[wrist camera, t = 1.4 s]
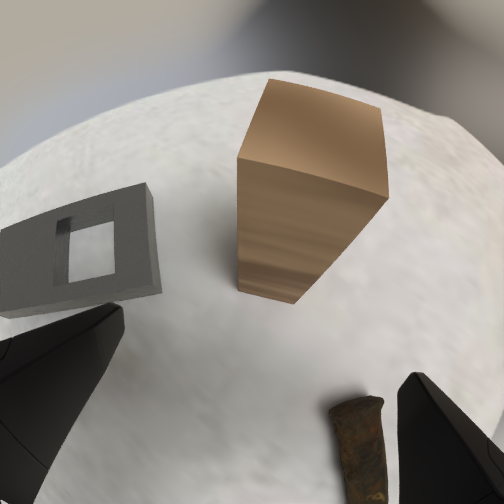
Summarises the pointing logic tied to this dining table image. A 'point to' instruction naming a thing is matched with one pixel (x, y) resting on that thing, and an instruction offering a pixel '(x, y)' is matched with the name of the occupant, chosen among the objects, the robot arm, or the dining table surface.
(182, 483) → the dining table surface
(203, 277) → the dining table surface
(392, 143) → the dining table surface
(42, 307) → the grey slotted base plate
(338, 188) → the walnut post
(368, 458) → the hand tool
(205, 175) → the dining table surface
